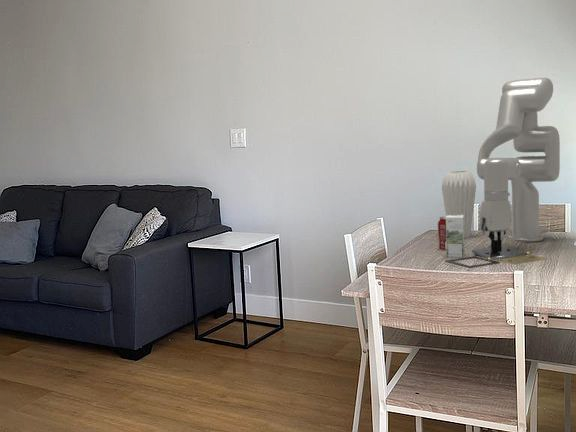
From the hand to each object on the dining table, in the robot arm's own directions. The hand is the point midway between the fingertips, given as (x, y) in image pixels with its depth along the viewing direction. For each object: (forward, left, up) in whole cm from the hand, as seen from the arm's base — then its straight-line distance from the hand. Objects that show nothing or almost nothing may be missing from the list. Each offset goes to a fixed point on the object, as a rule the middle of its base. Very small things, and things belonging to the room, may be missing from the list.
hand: (496, 251), depth 204 cm
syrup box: (+11, -7, -2) cm, 13 cm away
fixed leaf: (-1, +10, -2) cm, 10 cm away
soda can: (+5, -19, -2) cm, 20 cm away
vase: (-16, -39, -2) cm, 42 cm away
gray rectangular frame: (+14, +5, -2) cm, 15 cm away
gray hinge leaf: (-1, +1, -1) cm, 1 cm away
